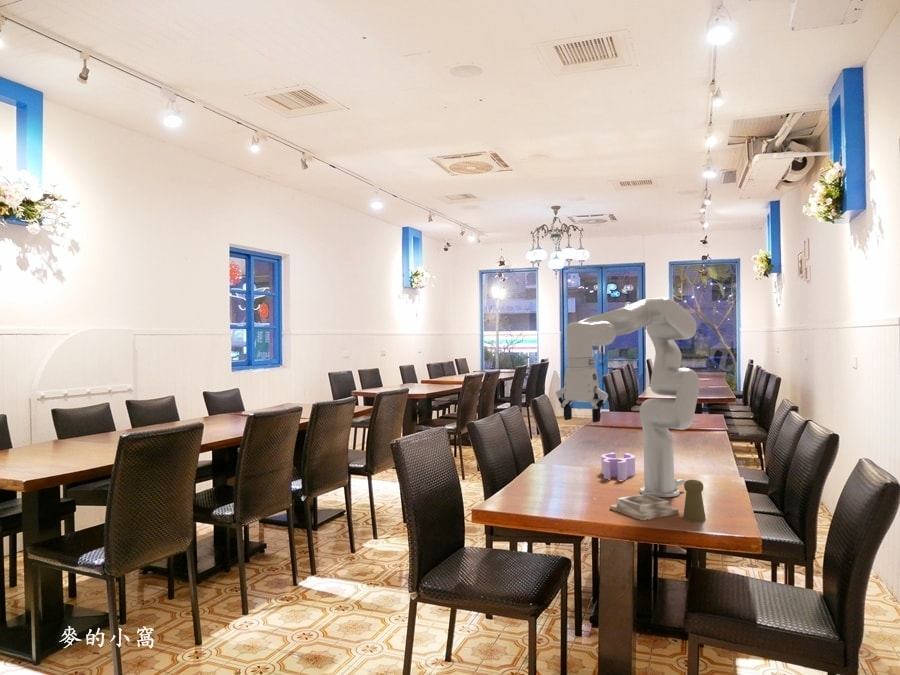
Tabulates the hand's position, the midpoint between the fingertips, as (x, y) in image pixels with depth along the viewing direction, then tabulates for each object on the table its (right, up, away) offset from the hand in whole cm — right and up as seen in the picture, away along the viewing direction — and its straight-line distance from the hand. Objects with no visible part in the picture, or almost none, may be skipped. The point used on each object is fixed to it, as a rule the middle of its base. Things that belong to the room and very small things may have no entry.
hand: (581, 420), depth 191 cm
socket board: (+19, -27, +1) cm, 33 cm away
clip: (+24, -28, +51) cm, 63 cm away
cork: (+31, -27, -8) cm, 42 cm away
